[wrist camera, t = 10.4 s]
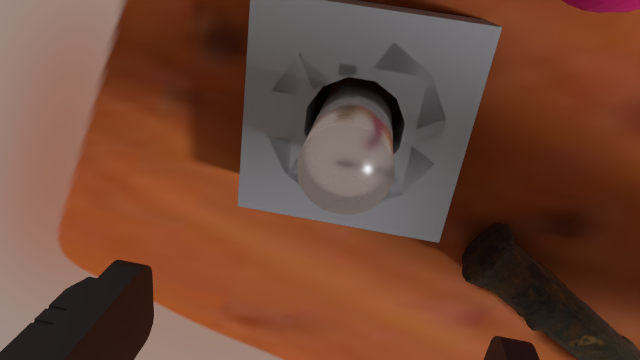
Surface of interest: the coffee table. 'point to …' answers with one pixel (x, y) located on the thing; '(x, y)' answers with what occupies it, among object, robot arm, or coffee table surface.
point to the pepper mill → (605, 5)
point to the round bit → (349, 149)
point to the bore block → (369, 64)
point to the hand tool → (541, 297)
